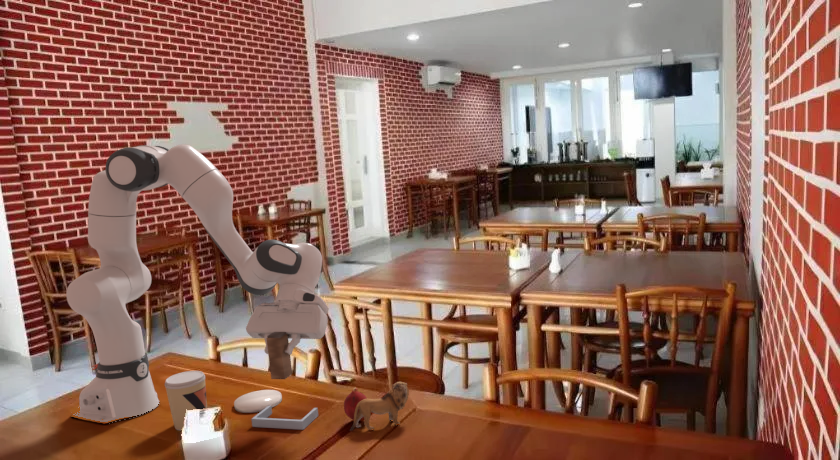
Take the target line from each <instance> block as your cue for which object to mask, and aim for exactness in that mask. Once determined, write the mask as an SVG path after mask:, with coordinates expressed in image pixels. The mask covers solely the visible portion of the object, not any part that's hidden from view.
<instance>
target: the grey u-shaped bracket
mask: <svg viewBox="0 0 840 460" xmlns="http://www.w3.org/2000/svg"><path fill="white" fill-rule="evenodd" d="M272 414H273V410H272V408H271V406H267V407H266V408H265V409H263V410H262V411H260V412H259V413H258V412H257V414H255V415H254V416H253V417H252V418H251V419H250V420H251V426H252V428H268V429H285V430H299V431H301V430H305V429H306V428H307V427H308V426H309V425H310V424H311V423H312V422H314V420H315V419H316V418H317V417H319V409H318V407H313V408H312V409H311V410H310V411H309V412H308V413H307V414H306V415H305V416H304V417H302V418H301V419H296V418H295V419H294V418H293V419H290V418H275V417H274V418H272V417H270V416H272Z"/></svg>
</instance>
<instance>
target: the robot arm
mask: <svg viewBox="0 0 840 460" xmlns="http://www.w3.org/2000/svg"><path fill="white" fill-rule="evenodd" d="M104 168H105V170H101V171H99V172H98V173H96V174H95V175H94V177H93V178H92V181H91V185H90V191H89V197H88V207H87V208H88V209H87V211H88V212H87V215H88V216H87V218H88V220H87V222H88V223H87V241H88V245H89V246H90V247H91V248H92V249H94V251H95V250H96V253H97V254H98V258H99V261H100V266H99V268H96V269H94V270H89V271H87V272H84V273H83V274H81V275H80V276H77V277H76V278H75V279H74V280H72V281H71V282H70V283H69V284H68V287H67V288H66V293H65V294H66V301H67V304H68V306H69V307H70V308H71V310H72V311H73V312H75V313H77V314H78V315H81V316H82V317H83V318H84V320H86V321H87V323H88V326H89V327H90V328H91V330H92V333H93V336H94V339H95V345H96V349H97V354H98V363H96V364H93V365H92V366H91V368H92V369H91V370H92V371H94V370H96V372H95V377H94V378H93V379H92V380H91V381H90V382H89V383H88V384H87V385H86V386H85V387H84V388H83V389H82V390H81V391H80V393H79V397H78V399H79V407H80V411H79V412H80V413H78V412H77V414H76V413H75V414H76V415H75V414H73V415H75V416H78V417H83V418H86V419H91V420H95V421H100V422H108V421H111V420H115V419H119V418H124V417H132V416H136V417H138V416H137V415H139V416H142V415H144V413H145V414H147V413H149V412H151V411H153V410H155V409H156V408H157V407H159V405H160V403H159V402H160V400H159V398H158V393H157V391H156V390H155V386H154V383H153V380H152V376H151V372H150V369H149V368H150V363H149V356H148V354H147V352H146V349H145V343H144V337H143V331H142V327H141V324H139V323H138V322H137V321H135V320H133V319H132V318H131V315H129V312H128V310H127V306H126V305H127V304H128V303H131V302H133V301H135V300H137V299H139V298H140V297H141V296H143V295H144V294H145V293H146V292H147V291H148V290H149V289H150V287H151V284H152V279H153V278H152V274H151V271H150V270H149V268H148V267H147V266H146V265H145V263H143V262H142V259H141V257H140V256H141V255H140V253H139V251H138V245H137V200H138V196H139V195H140V193H141V192H143V191H144V192H145V191H150V190H154V189H157V188H163V187H165V186H168V185H169V186H171V187H172V188H173V189H175V191H176V192H177V193H178V194H179V195H180V196H181V198H182V199H183V200H184V201H185V203H187V204H188V205H189V207H190V208H191V209H192V211H193V212H194V213H195V215H196V216H197V217H198V219H199V221H200V222H201V224H202V226H203V228H204V230H205V231H206V233H207V234H208V235H209V237H210V238H211V240H212V241H213V242H214V244H215V245H216V247H217V248H218V249H219V250H220V252H221V253H222V255H223V256H224V257H225V259H226V260H227V261H228V263H229V264H230V266H231V267H232V269H233V270H234V273H235V274H236V277H237V281H238V282H239V285H240V286H241V287H242V288H243V289H244V291H246V292H248V293H249V294H253V295H257V296H262V295H266V294H268V293H270V292H272V290H273V289H274V288H275V287H276V285H277V284H278V285H279V288H278V291H277V294H276V296H275V300H274V302H262V303H260V304H257V305H256V306H255V308H254V310H253V312H252V314H251V315H250V318H249V319H248V322H247V324H246V326H245V331H246V333H247V335H249V336H250V337H251V338H252V339H264V343H265V348H264V353H265V354H266V355H268V347H267V339H266V338H268V337H267V336H268V335H270V334H271V333H273V332H286V334H288V340H289V339H291V340H290V341H289V344H288V345H285V346H284V349H283V353H285V354H287V355H290V356H292V354H293V351H294V349H295V348H296V347H297V346H298V345H300V342H301V340H303V339H305V340H321V339H322V338H323V337H324V336H325V334H326V330H327V326H328V318H329V317H328V315H327V314H328V313H329V306H328V305H327V303H326V302H325V300H324V299H323V298H322V297H321V296H320V295H319V294H316V293H315V288H316V287H317V285H318V284H319V279H320V276H321V272H322V266H323V256H322V253H321V251H320V250H319V248H318V247H316V246H315V245H313V244H311V243H309V242H297V243H285V242H282V241H281V240H277V239H266V240H264V241H262V242H261V243H260V244H259V245H258V246H257V247H256V248H255V249H254V251H252V250H251V248H250V247H249V246H248V245H249V244H247V242H246V241H245V240H244V239H243V237H242V236H241V235H240V233H239V232H238V230H237V229H236V227H235V225H234V221H233V204H234V190H233V187H231V184H230V182H229V181H228V179H227V178H226V177H225V176H224V175H223V174H222V172H221V171H220V170H219V169H218V168H217V167H216V166H215V165H214V164H213V163H212V161H210V160H209V159H208V158H207V157H206V156H205V155H203V154H202V153H201V152H200V151H199V150H198V149H196V148H195V147H194V146H192V145H190V144H186V143H185V144H184V143H182V144H176V145H174V146H172V147H171V148H169V149H168V148H166V147H165V146H160V145H145V144H144V145H137V146H132V147H124V148H121V149H120V148H119V149H117V150H115V151H114V152H113V153H111V154H110V155H109V157H108V158H107V160H106V163H105V167H104ZM158 404H159V405H158ZM152 409H153V410H152ZM148 411H149V412H148ZM146 412H147V413H146ZM78 414H79V415H78ZM141 414H142V415H141ZM102 419H103V420H102Z"/></svg>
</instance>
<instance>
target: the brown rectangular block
mask: <svg viewBox="0 0 840 460" xmlns="http://www.w3.org/2000/svg"><path fill="white" fill-rule="evenodd" d="M267 337H268V338H266V339H267V347H268V354H267V355H268V363H269V371H270V378H271V379H270V380H286V379H287V378H289V377H290V376H291V375H292V374H293V370H292V368H293V367H292V361H291V359H292V358H291V355H287V354H285V353H283V349H284V346H285V345H288V344H289V343H290V341H289V339H288V334H286V332H273V333H271V334H270V335H268V336H267Z"/></svg>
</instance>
